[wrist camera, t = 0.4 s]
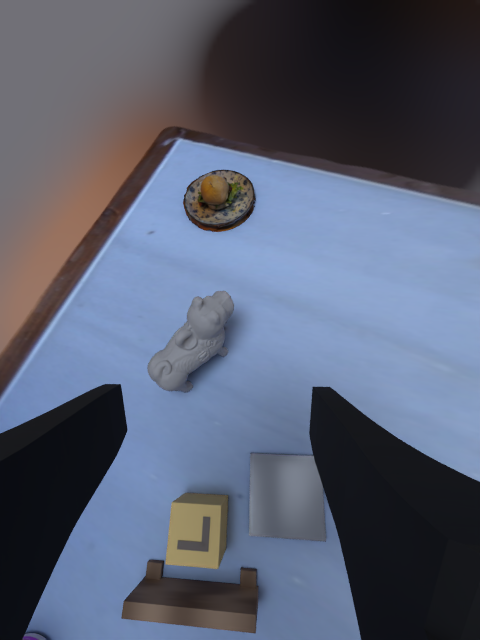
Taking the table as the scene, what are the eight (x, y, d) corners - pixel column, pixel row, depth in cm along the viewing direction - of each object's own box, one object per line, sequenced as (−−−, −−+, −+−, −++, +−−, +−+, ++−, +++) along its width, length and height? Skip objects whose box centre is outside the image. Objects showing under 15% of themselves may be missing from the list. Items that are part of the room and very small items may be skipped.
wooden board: (258, 569, 30) (255, 594, 25) (257, 619, 29) (255, 655, 24) (147, 559, 31) (126, 581, 27) (142, 606, 30) (118, 639, 25)
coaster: (325, 539, 30) (326, 541, 30) (249, 533, 31) (249, 535, 31) (319, 455, 33) (320, 456, 33) (250, 452, 34) (250, 453, 33)
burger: (266, 186, 49) (265, 146, 42) (238, 241, 45) (232, 207, 39) (203, 171, 52) (193, 131, 45) (173, 221, 48) (156, 186, 41)
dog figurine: (249, 332, 40) (242, 298, 30) (182, 402, 37) (150, 392, 27) (222, 308, 41) (207, 270, 31) (156, 375, 39) (117, 355, 29)
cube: (226, 548, 31) (217, 569, 26) (180, 544, 32) (165, 564, 27) (228, 495, 33) (221, 505, 28) (185, 492, 33) (171, 502, 29)
